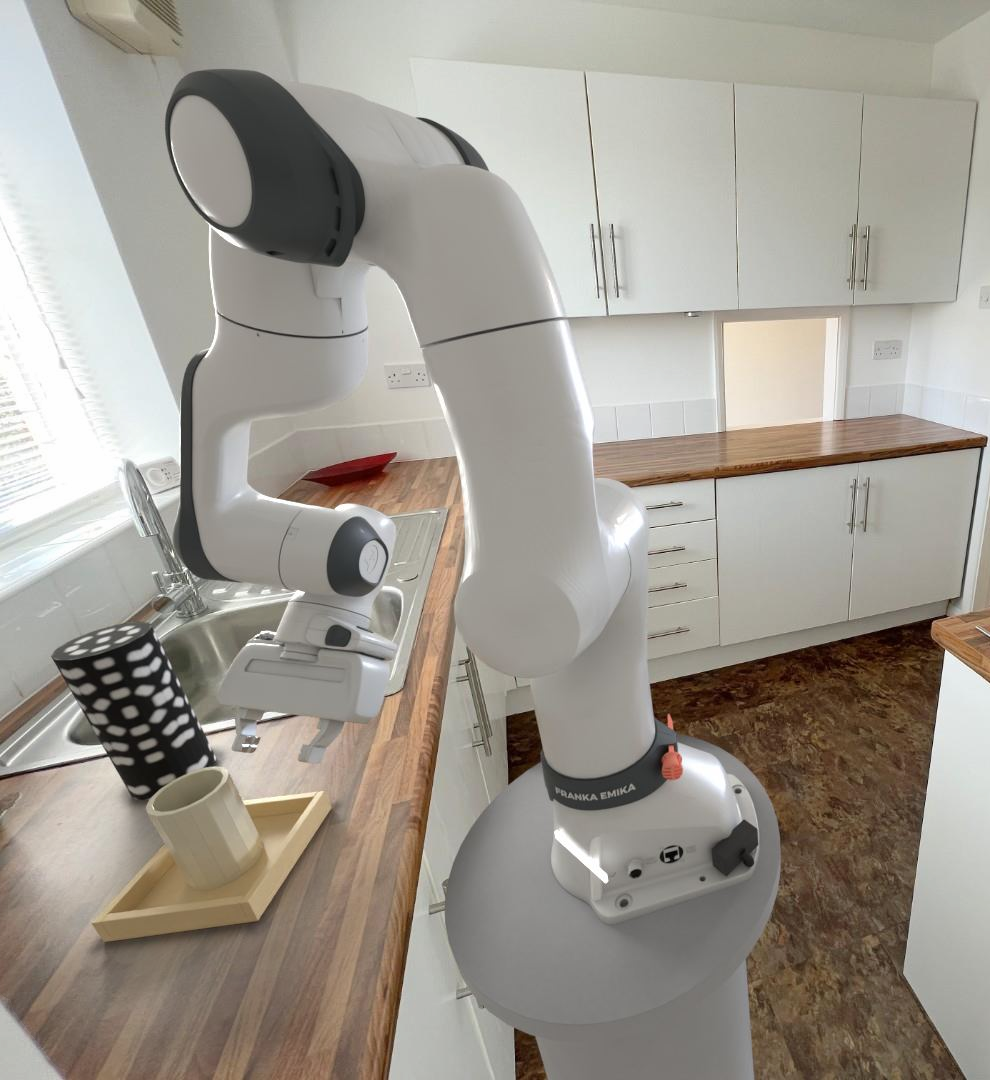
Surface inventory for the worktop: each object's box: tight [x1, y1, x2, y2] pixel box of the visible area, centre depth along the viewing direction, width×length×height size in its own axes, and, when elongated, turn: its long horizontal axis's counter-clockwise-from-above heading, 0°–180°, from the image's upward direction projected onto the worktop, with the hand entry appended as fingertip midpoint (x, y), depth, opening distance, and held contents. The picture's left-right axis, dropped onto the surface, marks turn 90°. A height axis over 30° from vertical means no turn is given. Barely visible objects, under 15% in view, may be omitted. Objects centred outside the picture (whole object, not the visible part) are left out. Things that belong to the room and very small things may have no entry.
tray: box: [91, 790, 332, 943], centre depth 60 cm, size 14×14×3 cm
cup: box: [145, 765, 263, 891], centre depth 59 cm, size 6×6×10 cm
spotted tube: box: [50, 621, 217, 801], centre depth 71 cm, size 8×8×20 cm
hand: (274, 757), depth 65 cm, fingers open, 8 cm apart
